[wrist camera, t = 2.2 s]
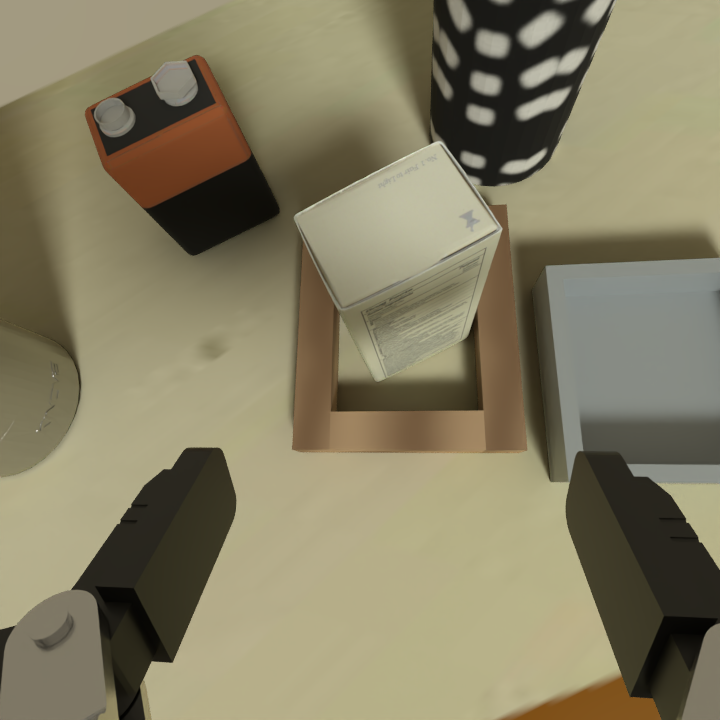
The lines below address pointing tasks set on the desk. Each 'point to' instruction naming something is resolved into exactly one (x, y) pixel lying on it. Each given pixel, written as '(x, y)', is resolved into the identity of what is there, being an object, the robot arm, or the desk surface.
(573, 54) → the white-spotted black cylinder
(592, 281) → the tray
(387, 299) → the skincare box
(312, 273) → the brown flat rectangular frame
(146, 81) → the battery
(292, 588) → the desk surface
